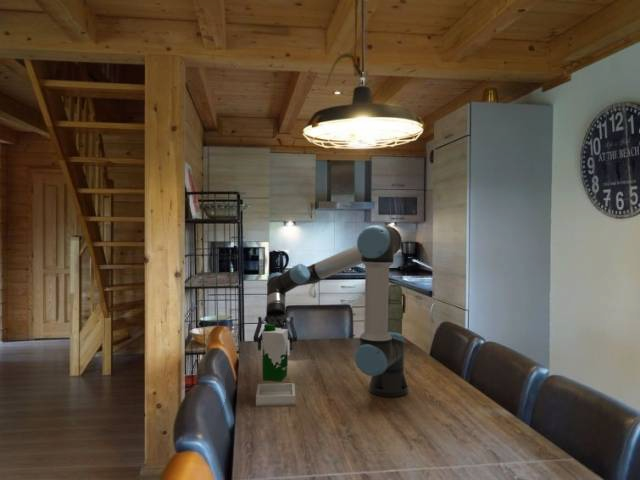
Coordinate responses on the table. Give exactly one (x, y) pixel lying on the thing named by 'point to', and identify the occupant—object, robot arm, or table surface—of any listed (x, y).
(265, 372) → the soya milk
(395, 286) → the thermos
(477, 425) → the table surface
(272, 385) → the square holder
